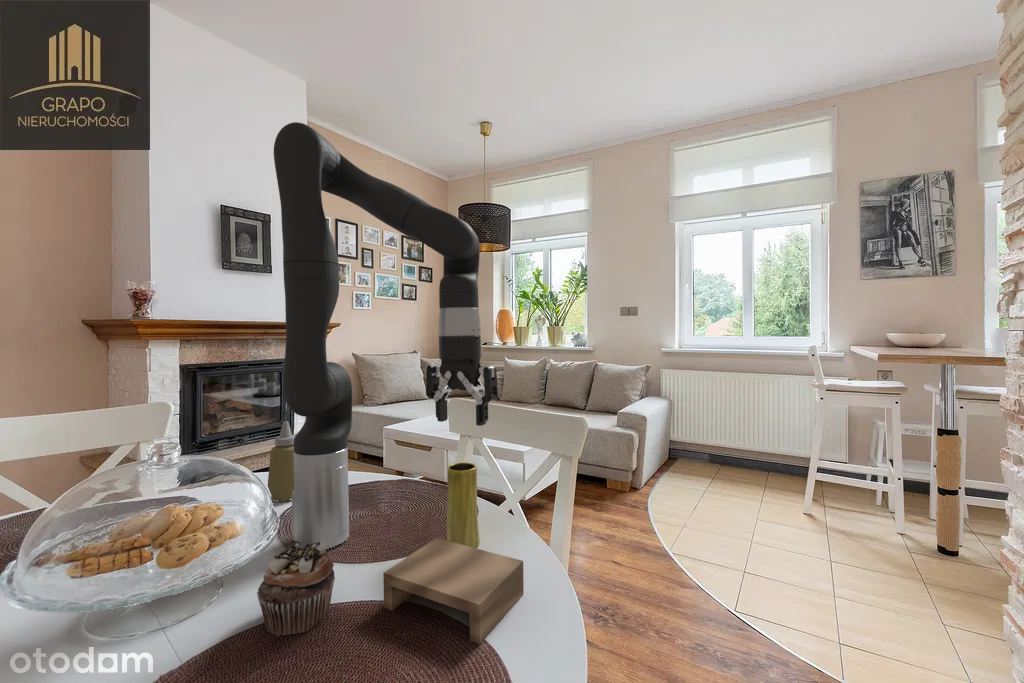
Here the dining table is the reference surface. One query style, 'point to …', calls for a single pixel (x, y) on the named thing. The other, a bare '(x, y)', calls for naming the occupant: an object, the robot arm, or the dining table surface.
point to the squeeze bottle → (282, 465)
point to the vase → (462, 505)
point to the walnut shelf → (458, 582)
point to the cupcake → (297, 589)
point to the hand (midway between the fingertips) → (461, 422)
